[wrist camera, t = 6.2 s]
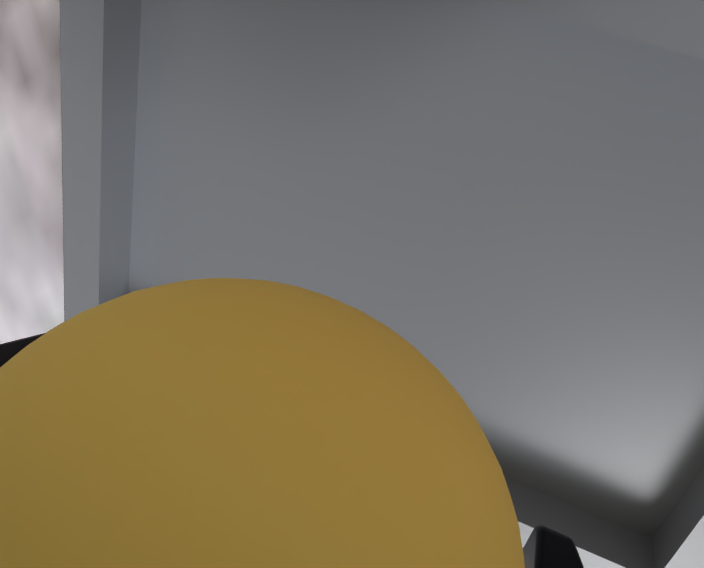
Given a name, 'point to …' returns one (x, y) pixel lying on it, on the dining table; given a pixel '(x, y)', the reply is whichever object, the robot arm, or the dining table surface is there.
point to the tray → (432, 212)
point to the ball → (242, 441)
